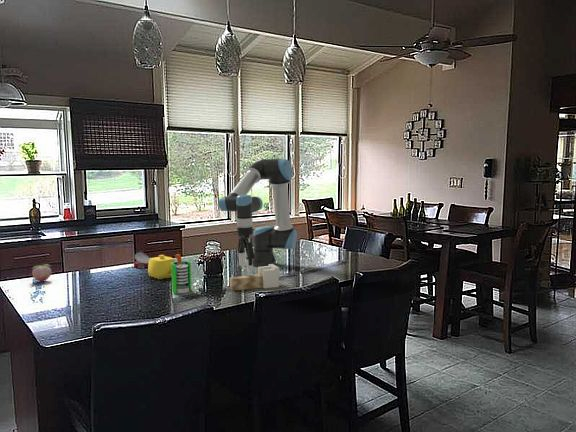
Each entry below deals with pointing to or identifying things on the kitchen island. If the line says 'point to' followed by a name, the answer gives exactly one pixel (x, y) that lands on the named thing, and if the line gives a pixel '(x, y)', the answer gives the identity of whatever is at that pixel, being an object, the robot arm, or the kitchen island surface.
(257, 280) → the rail
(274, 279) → the white stepped block
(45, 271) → the decorative fruit
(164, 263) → the teapot
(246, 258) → the robot arm
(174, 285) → the green-shelled ribbed roller
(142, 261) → the canned food
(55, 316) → the kitchen island surface
